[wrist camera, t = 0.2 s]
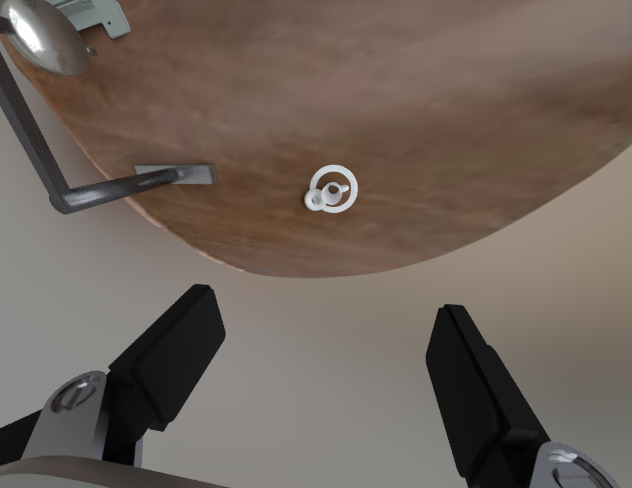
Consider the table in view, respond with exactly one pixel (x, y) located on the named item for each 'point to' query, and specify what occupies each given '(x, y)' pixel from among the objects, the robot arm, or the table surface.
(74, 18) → the metal bracket
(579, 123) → the table surface
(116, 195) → the metal desk lamp
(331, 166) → the white ring with cylinder
